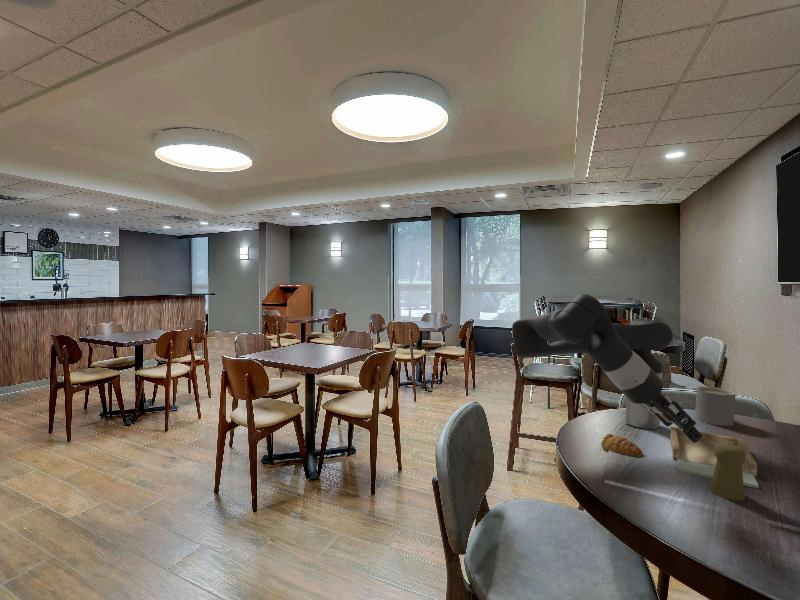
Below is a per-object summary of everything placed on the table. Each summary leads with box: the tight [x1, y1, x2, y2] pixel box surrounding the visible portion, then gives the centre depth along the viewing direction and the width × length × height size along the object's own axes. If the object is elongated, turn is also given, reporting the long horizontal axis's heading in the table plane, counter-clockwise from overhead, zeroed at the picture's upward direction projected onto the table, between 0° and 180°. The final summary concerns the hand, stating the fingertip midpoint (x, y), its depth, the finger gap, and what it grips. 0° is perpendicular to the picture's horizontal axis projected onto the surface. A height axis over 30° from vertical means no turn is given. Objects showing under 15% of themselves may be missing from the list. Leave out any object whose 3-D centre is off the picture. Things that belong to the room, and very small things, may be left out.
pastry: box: [600, 433, 644, 458], centre depth 108 cm, size 9×7×4 cm
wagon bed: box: [669, 426, 758, 478], centre depth 106 cm, size 16×18×4 cm
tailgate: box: [676, 459, 759, 489], centre depth 95 cm, size 14×1×6 cm
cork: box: [709, 443, 746, 502], centre depth 86 cm, size 6×6×11 cm
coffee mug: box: [694, 386, 736, 427], centre depth 135 cm, size 13×10×10 cm
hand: (683, 431), depth 86 cm, fingers open, 8 cm apart
